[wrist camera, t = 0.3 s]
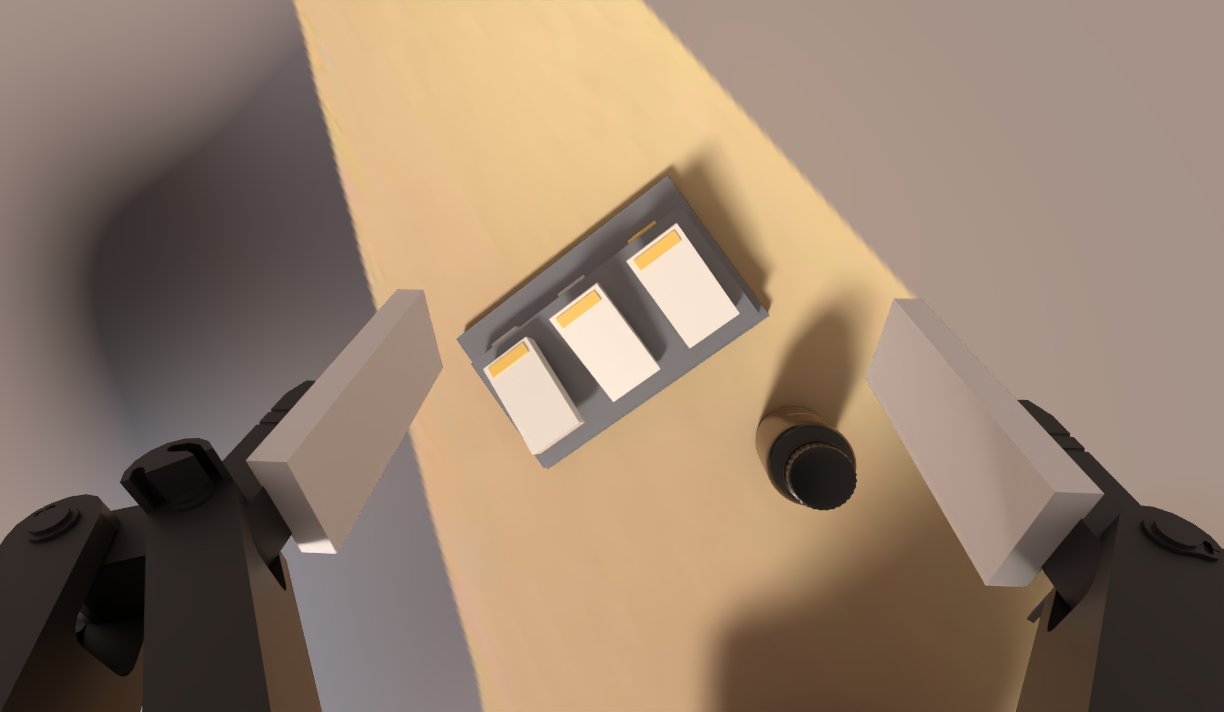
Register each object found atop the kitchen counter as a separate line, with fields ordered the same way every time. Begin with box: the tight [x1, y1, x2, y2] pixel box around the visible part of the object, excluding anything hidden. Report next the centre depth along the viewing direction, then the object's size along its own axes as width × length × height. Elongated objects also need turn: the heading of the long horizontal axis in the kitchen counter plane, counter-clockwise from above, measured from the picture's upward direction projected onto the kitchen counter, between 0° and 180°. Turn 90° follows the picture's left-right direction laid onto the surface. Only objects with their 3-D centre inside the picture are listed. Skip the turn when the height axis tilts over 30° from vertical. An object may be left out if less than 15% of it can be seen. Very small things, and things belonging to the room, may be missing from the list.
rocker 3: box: [626, 223, 740, 348], centre depth 42 cm, size 9×5×2 cm, turn 36°
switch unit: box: [457, 175, 769, 469], centre depth 47 cm, size 16×26×6 cm, turn 126°
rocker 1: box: [483, 337, 585, 455], centre depth 44 cm, size 9×5×2 cm, turn 36°
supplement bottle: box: [756, 406, 857, 510], centre depth 42 cm, size 7×7×12 cm
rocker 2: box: [549, 282, 660, 402], centre depth 43 cm, size 9×5×2 cm, turn 36°
